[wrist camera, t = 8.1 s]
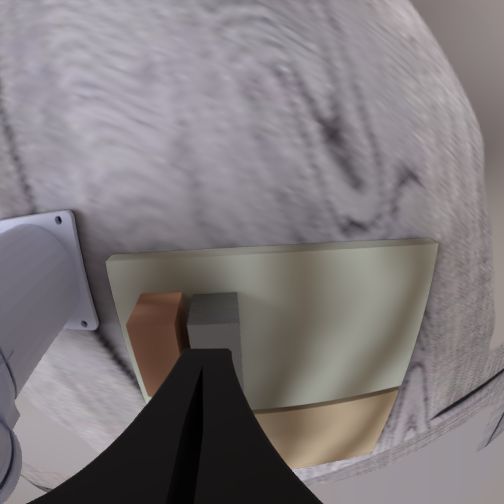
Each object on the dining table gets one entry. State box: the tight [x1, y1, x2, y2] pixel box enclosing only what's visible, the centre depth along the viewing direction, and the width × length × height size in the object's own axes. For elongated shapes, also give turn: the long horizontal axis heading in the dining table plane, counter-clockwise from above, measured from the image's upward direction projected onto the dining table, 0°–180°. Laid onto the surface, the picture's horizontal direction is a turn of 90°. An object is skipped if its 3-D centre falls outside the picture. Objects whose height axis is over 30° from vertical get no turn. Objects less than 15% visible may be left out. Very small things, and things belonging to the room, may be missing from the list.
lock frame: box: [105, 238, 439, 469], centre depth 19 cm, size 20×23×4 cm
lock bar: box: [187, 292, 244, 393], centre depth 17 cm, size 15×3×3 cm, turn 2°
